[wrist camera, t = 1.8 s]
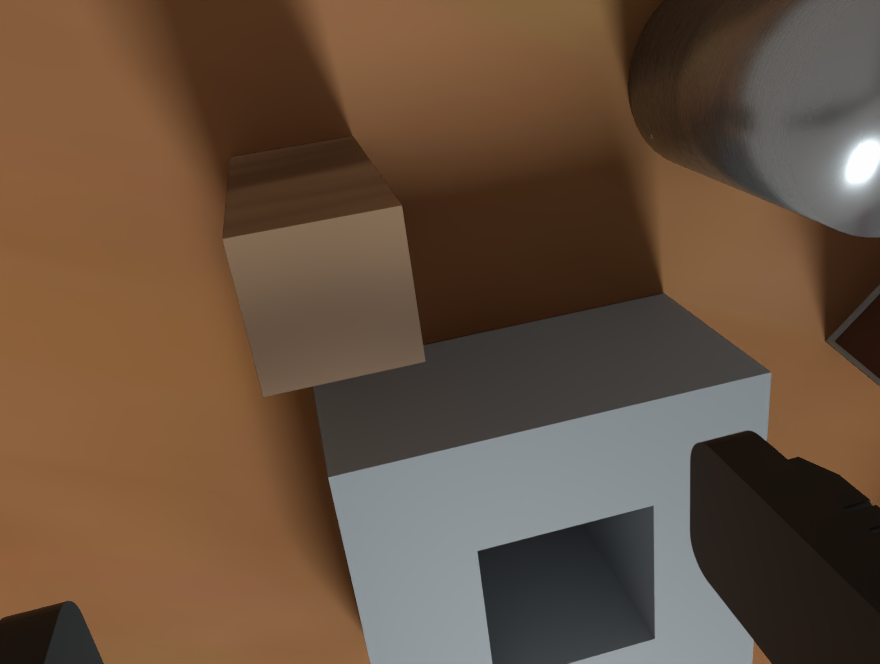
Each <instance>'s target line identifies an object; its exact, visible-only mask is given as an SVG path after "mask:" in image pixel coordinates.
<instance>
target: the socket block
mask: <svg viewBox="0 0 880 664" xmlns="http://www.w3.org/2000/svg"><path fill="white" fill-rule="evenodd" d="M423 348H424V354H425V361H426V362H422V363H417V364H413V365H408V366H404V367H399V368H395V369H390V370H385V371H381V372H376V373H372V374H367V375H363V376H358V377H354V378H349V379H344V380H340V381H335V382H331V383H326V384H322V385H317V386H313V391H314V397H315V403H316V409H317V414H318V420H319V426H320V432H321V438H322V444H323V450H324V456H325V462H326V468H327V474H328V479H329V484H330V488H331V492H332V497H333V501H334V506H335V510H336V514H337V519H338V523H339V527H340V532H341V536H342V540H343V545H344V549H345V554H346V558H347V562H348V567H349V571H350V575H351V580H352V584H353V588H354V593H355V597H356V602H357V606H358V610H359V615H360V619H361V623H362V628H363V632H364V637H365V641H366V645H367V650H368V654H369V658H370V663H371V664H752V659H753V644H754V640H753V639H752V637H751V636H750V635H749V634H748V632H747V631H746V630H745V628H744V627H743V626H742V625H741V623H740V622H739V621H738V620H737V618H736V617H735V616H734V614H733V613H732V612H731V611H730V609H729V608H728V607H727V606H726V604H725V603H724V602H723V600H722V599H721V598H720V597H719V595H718V594H717V593H716V591H715V590H714V589H713V588H712V586H711V585H710V584H709V583H708V581H707V580H706V578H705V577H704V575H703V574H702V572H701V570H700V568H699V566H698V563H697V561H696V558H695V556H694V553H693V549H692V545H691V539H690V455H691V450H692V448H693V446H694V445H695V444H696V443H699V442H703V441H707V440H711V439H715V438H719V437H723V436H727V435H730V434H734V433H738V432H742V431H747V430H749V431H753V432H755V433H757V434H758V435H760V436H761V437H762V438H763V439H764V440H765V441H767V431H768V416H769V401H770V385H771V372H770V371H769V370H768V369H766V368H765V367H763V366H762V365H761V364H759V363H758V362H757V361H755V360H754V359H753V358H751V357H750V356H749V355H747V354H746V353H744V352H743V351H742V350H740V349H739V348H738V347H736V346H735V345H734V344H732V343H731V342H730V341H728V340H727V339H725V338H724V337H723V336H721V335H720V334H719V333H717V332H716V331H715V330H713V329H712V328H711V327H709V326H708V325H706V324H705V323H704V322H702V321H701V320H700V319H698V318H697V317H696V316H694V315H693V314H692V313H690V312H689V311H687V310H686V309H685V308H683V307H682V306H681V305H679V304H678V303H677V302H675V301H674V300H673V299H671V298H670V297H668V296H667V295H666V294H664V293H663V294H659V295H654V296H649V297H645V298H640V299H636V300H631V301H626V302H622V303H617V304H612V305H608V306H603V307H598V308H594V309H589V310H585V311H580V312H575V313H571V314H566V315H561V316H557V317H552V318H547V319H543V320H538V321H534V322H529V323H524V324H520V325H515V326H510V327H506V328H501V329H496V330H492V331H487V332H483V333H478V334H473V335H469V336H464V337H459V338H455V339H450V340H445V341H441V342H436V343H432V344H427V345H423Z"/></svg>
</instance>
